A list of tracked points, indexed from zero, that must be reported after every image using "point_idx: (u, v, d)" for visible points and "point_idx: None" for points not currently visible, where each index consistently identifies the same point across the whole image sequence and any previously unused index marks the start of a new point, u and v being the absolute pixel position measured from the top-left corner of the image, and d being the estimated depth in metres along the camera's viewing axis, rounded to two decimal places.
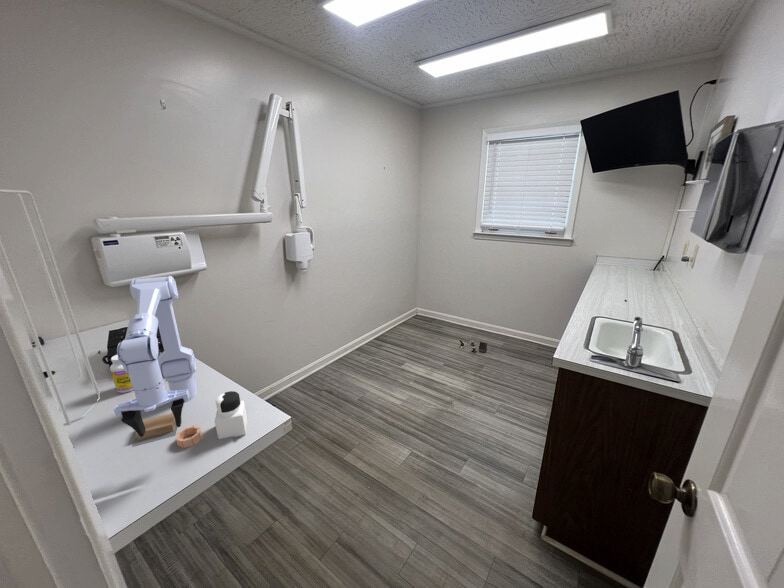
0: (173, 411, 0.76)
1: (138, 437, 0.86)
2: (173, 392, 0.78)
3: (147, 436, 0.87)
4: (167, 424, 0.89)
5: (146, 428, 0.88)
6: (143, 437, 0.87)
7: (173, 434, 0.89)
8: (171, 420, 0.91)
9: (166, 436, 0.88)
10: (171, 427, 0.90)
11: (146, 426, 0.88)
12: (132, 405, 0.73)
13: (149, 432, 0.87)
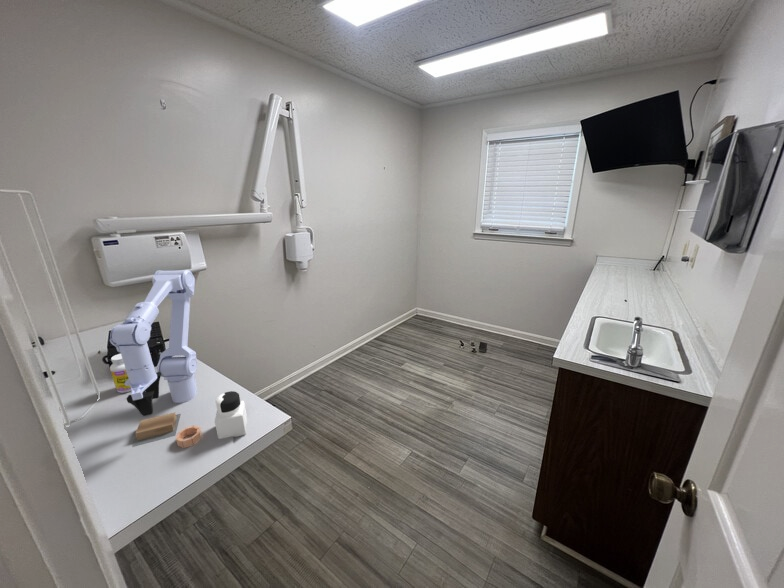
0: None
1: (138, 437, 0.86)
2: (146, 386, 0.82)
3: (147, 436, 0.87)
4: (167, 424, 0.89)
5: (146, 428, 0.88)
6: (143, 437, 0.87)
7: (173, 434, 0.89)
8: (171, 420, 0.91)
9: (166, 436, 0.88)
10: (171, 427, 0.90)
11: (146, 426, 0.88)
12: None
13: (149, 432, 0.87)
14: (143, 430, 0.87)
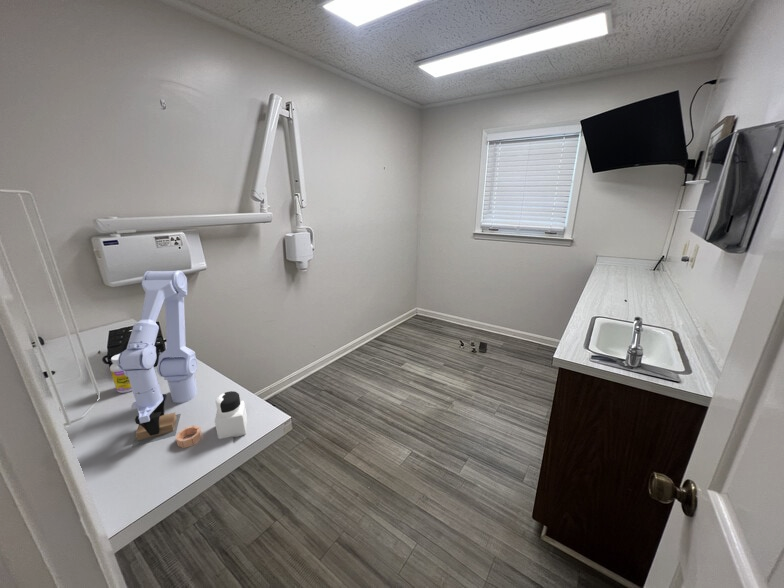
0: None
1: (138, 437, 0.86)
2: None
3: (147, 436, 0.87)
4: (167, 424, 0.89)
5: None
6: (143, 437, 0.87)
7: (173, 434, 0.89)
8: (171, 420, 0.91)
9: (166, 436, 0.88)
10: (171, 427, 0.90)
11: None
12: None
13: None
14: (143, 430, 0.87)
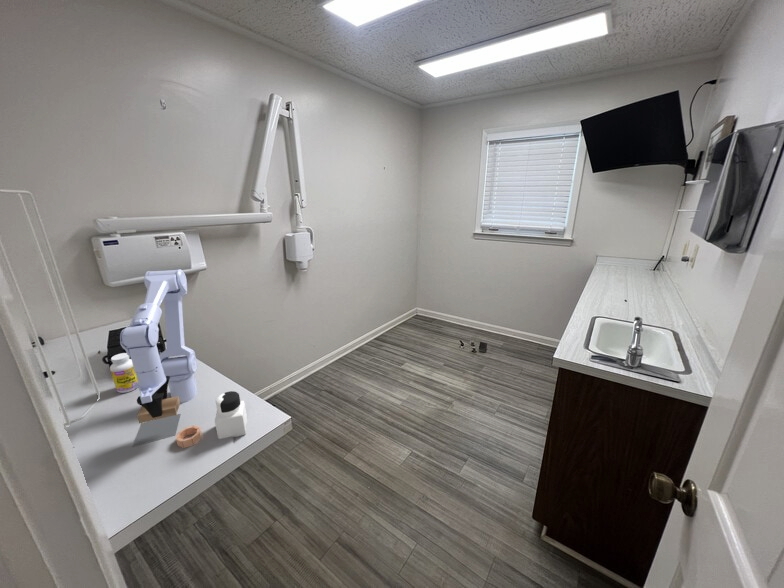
0: None
1: (140, 420, 0.83)
2: (155, 389, 0.81)
3: (149, 419, 0.84)
4: (170, 407, 0.86)
5: None
6: (145, 420, 0.84)
7: (173, 434, 0.89)
8: (174, 403, 0.87)
9: (166, 436, 0.88)
10: (174, 410, 0.86)
11: None
12: None
13: None
14: (145, 413, 0.83)
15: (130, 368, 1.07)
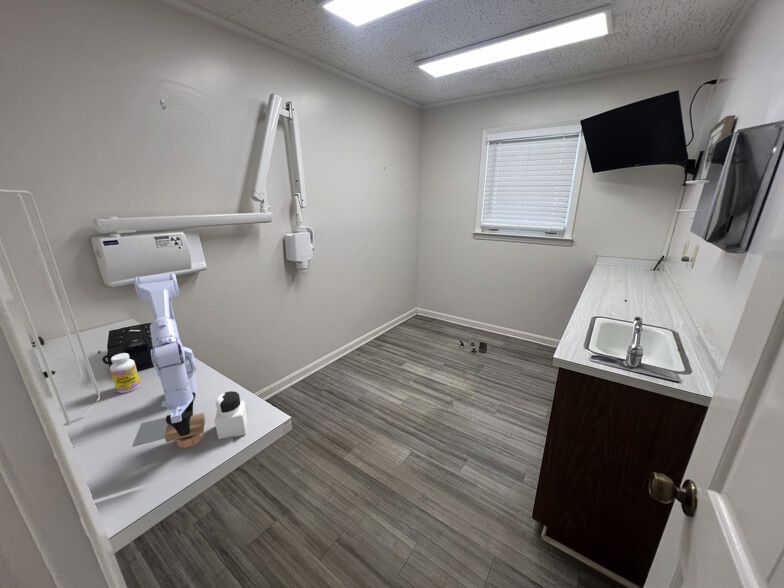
0: None
1: (167, 439, 0.82)
2: (183, 407, 0.80)
3: (176, 438, 0.83)
4: (197, 425, 0.84)
5: None
6: (172, 439, 0.82)
7: None
8: (200, 421, 0.86)
9: None
10: (201, 429, 0.85)
11: None
12: None
13: (178, 434, 0.83)
14: (172, 431, 0.82)
15: (130, 368, 1.07)
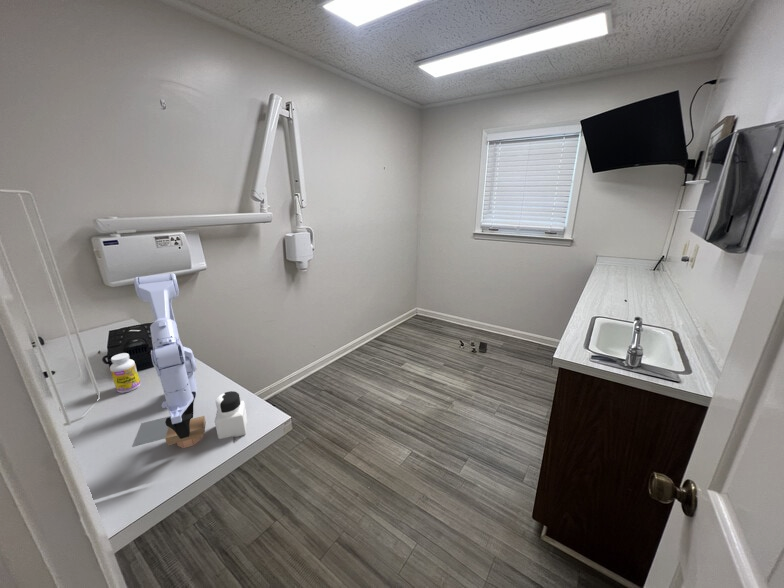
0: None
1: (168, 442, 0.82)
2: (184, 408, 0.80)
3: (177, 441, 0.83)
4: (198, 428, 0.85)
5: None
6: (173, 442, 0.83)
7: None
8: (201, 424, 0.86)
9: None
10: (202, 431, 0.85)
11: None
12: None
13: None
14: (173, 435, 0.83)
15: (130, 368, 1.07)
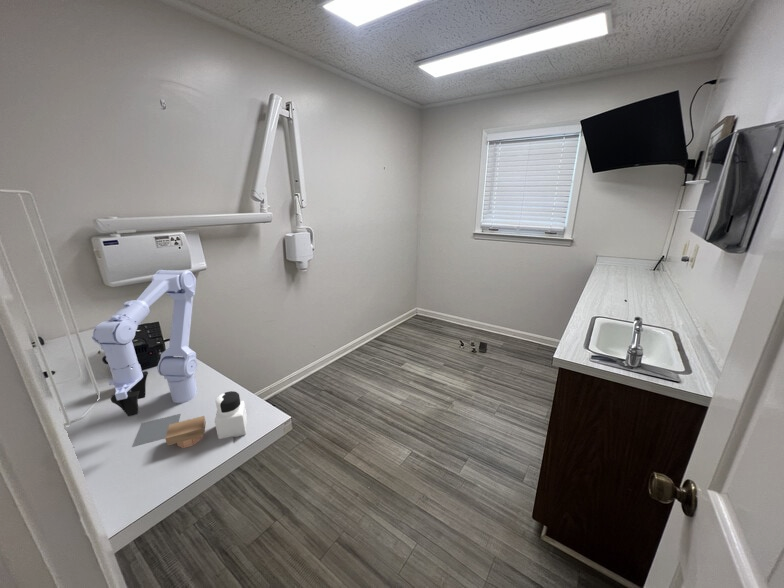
0: None
1: (168, 442, 0.82)
2: None
3: (177, 441, 0.83)
4: (198, 428, 0.85)
5: (176, 433, 0.83)
6: (173, 442, 0.83)
7: None
8: (201, 424, 0.86)
9: None
10: (202, 431, 0.85)
11: (176, 430, 0.84)
12: None
13: (179, 437, 0.83)
14: (173, 435, 0.83)
15: None
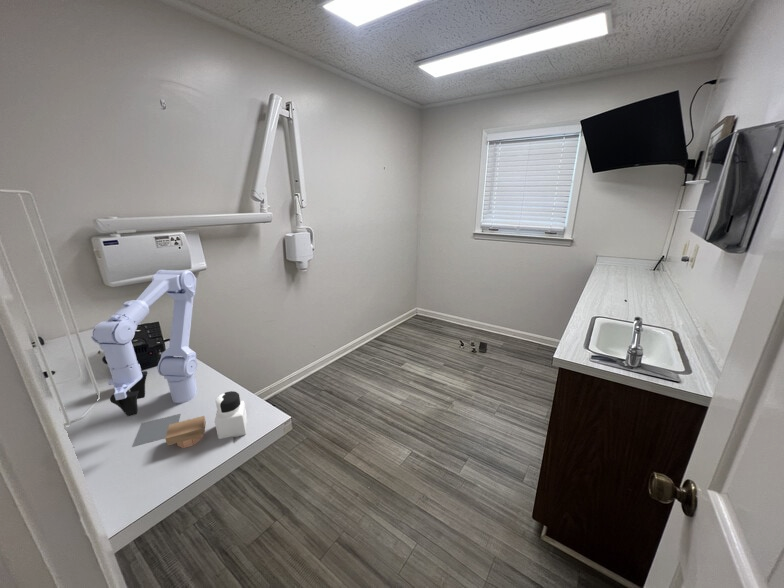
0: None
1: (168, 442, 0.82)
2: None
3: (177, 441, 0.83)
4: (198, 428, 0.85)
5: (176, 433, 0.83)
6: (173, 442, 0.83)
7: None
8: (201, 424, 0.86)
9: None
10: (202, 431, 0.85)
11: (176, 430, 0.84)
12: None
13: (179, 437, 0.83)
14: (173, 435, 0.83)
15: None
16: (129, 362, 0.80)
